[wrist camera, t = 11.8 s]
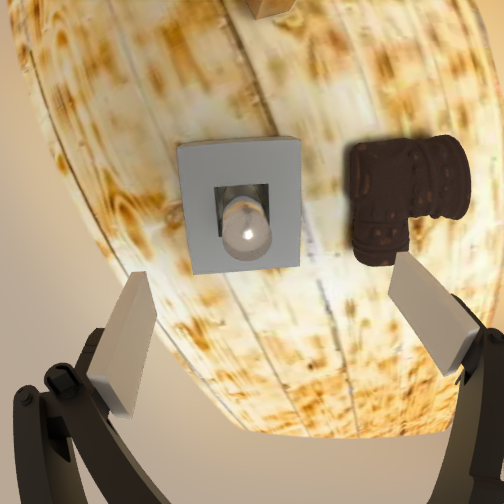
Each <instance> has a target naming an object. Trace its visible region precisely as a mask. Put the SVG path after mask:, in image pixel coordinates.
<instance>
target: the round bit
mask: <svg viewBox="0 0 504 504" xmlns="http://www.w3.org/2000/svg"><path fill="white" fill-rule="evenodd" d="M222 242H223V246H224V248H225V250H226V252H227V253H228V254H229V255H230V256H231V257H233V258H235V259H237V260H240V261H253V260H256V259H259V258H260V257H262V256H263V255H265V254H266V253H267V251H268V250H269V248H270V246H271V244H272V232H271V229H270V226H269V223H268V221H267V218H266V215H265V213H264V210H263V207H262V204H261V202H260V199H259V196H258V194H257V191H256V189H255V188H254V186H253V185H236V186H228V187H227V188H226V190H225V192H224V198H223V228H222Z"/></svg>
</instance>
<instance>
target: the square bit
mask: <svg viewBox="0 0 504 504" xmlns="http://www.w3.org/2000/svg"><path fill="white" fill-rule="evenodd" d="M246 2H247V4H248V6H249V8H250V9H251V11H252V13H253V15H254V17H255V19H256V20H257V19H261V18H264V17H268V16H271V15H275V14H279V13H283V12H287V11H289V9H290V8H291V6H292V5H293V3H294V2H295V0H246Z"/></svg>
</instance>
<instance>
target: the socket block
mask: <svg viewBox="0 0 504 504" xmlns="http://www.w3.org/2000/svg"><path fill="white" fill-rule="evenodd" d="M176 150H177V160H178V169H179V178H180V186H181V194H182V202H183V210H184V217H185V224H186V231H187V238H188V245H189V251H190V257H191V264H192V270H193V275H198V274H212V273H225V272H238V271H250V270H262V269H274V268H285V267H297V266H300V233H301V140H299V139H297V138H294V137H291V136H277V137H252V138H235V139H222V140H210V141H200V142H191V143H183V144H182V145H180V146H179V147H177V148H176ZM251 184H263V193H264V213H265V215H266V218H267V221H268V223H269V226H270V229H271V232H272V244H271V246H270V248H269V250H268V251H267V253H266V254H265V255H263V256H262V257H260V258H259V259H256V260H253V261H240V260H237V259H235V258H233V257H231V256H230V255H229V254H228V253H227V252H226V250H225V248H224V246H223V242H222V228H223V220H222V221H220V219H219V208H218V197H217V187H223V186H236V185H251Z"/></svg>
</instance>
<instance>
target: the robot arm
mask: <svg viewBox="0 0 504 504" xmlns="http://www.w3.org/2000/svg"><path fill="white" fill-rule="evenodd" d="M388 295H389V297H390V298H391V299H392V301H393V302H394V303H395V305H396V306H397V308H398V309H399V310H400V312H401V313H402V315H403V316H404V317H405V319H406V320H407V322H408V323H409V325H410V326H411V327H412V329H413V330H414V332H415V333H416V335H417V336H418V338H419V339H420V341H421V342H422V344H423V345H424V347H425V348H426V350H427V351H428V353H429V354H430V356H431V357H432V359H433V360H434V362H435V363H436V365H437V367H438V368H439V370H440V371H441V373H442V375H443V376H444V377H445V376H448V375H450V374H453V373H455V372H456V371H457V369H458V368H459V366H460V364H462V365H463V366H464V369H463V371H462V372H461V374H460V376H459V377H458V379H457V380H456V382H455V385H457V383H458V382H459V381H460V385H459V386H460V387H459V394H458V400H457V405H456V411H455V416H454V421H453V425H452V430H451V434H450V438H449V442H448V446H447V449H446V453H445V456H444V460H443V463H442V467H441V470H440V473H439V476H438V479H437V482H436V484H435V487H434V490H433V493H432V495H431V498H430V499H429V501H428V502H427V504H504V481H501V479H500V474H501V469H502V463H503V457H504V334H503V333H502V332H500V331H499V330H497V329H495V328H486V327H485V326H484V325H483V324H482V322H481V321H480V320H479V319H478V318H477V317H476V316H475V314H474V313H473V312H472V311H471V310H470V309H469V308H468V307H467V306H466V304H465V303H464V302H463V301H462V300H461V299H460V298H458V297H457V296H455V295H454V294H450V293H449V292H448V291H447V290H446V289H445V288H444V287H443V286H442V285H441V284H440V282H439V281H438V280H437V279H436V278H435V277H434V276H433V275H432V274H431V273H430V272H429V271H428V270H427V269H426V268H425V267H424V266H423V265H422V264H421V263H420V262H419V261H418V260H416V259H415V258H414V257H413V256H412V255H411V254H410V253H409V252H408V251H407V252H397V255H396V260H395V264H394V269H393V274H392V278H391V282H390V287H389V291H388ZM156 317H157V312H156V309H155V305H154V302H153V298H152V294H151V290H150V287H149V283H148V279H147V275H146V271H144V272H132V273H131V275H130V277H129V279H128V281H127V283H126V285H125V287H124V289H123V291H122V293H121V295H120V297H119V299H118V301H117V303H116V306H115V308H114V310H113V312H112V314H111V316H110V319H109V321H108V323H107V325H106V328H96V329H95V330H94V331H93V332H92V333H91V334H90V335H89V337H88V339H87V341H86V343H85V346H84V348H83V350H82V353H81V354H80V356H79V359H78V361H77V363H76V366H75V368H73V367H72V366H71V365H70V364H68V363H58V364H55V365H53V366H52V367H51V368H49V369H48V371H47V372H46V374H45V376H44V384H45V385H46V386H47V388H48V389H49V390H50V391H49V392H43V393H39V391H38V390H37V389H36V388H35V387H34V386H32V385H26V386H24V387H21V388H20V389H19V390H18V391H17V392H16V394H15V396H14V401H13V435H14V453H15V464H16V473H17V481H18V488H19V494H20V499H21V504H88V502H87V499H86V496H85V493H84V489H83V486H82V482H81V478H80V475H79V471H78V467H77V463H76V458H75V454H74V449H73V444H72V439H73V441H74V444H75V446H76V448H77V449H78V452H79V454H80V455H81V458H82V459H83V461H84V463H85V465H86V467H87V469H88V471H89V472H90V474H91V476H92V478H93V479H94V481H95V483H96V484H97V486H98V488H99V489H100V491H101V493H102V494H103V496H104V497H105V499H106V500H107V502H108V504H171V503H170V502H169V501H168V499H167V498H166V497H165V496H164V495H163V494H162V493H161V491H160V490H159V489H158V488H157V487H156V485H155V484H154V483H153V482H152V480H151V479H150V478H149V476H148V475H147V474H146V473H145V471H144V470H143V469H142V468H141V466H140V465H139V463H138V462H137V461H136V459H135V458H134V456H133V455H132V454H131V452H130V451H129V449H128V448H127V446H126V445H125V443H124V442H123V441H122V439H121V437H120V436H119V434H118V433H117V431H116V430H115V428H114V427H113V425H112V423H111V422H110V420H109V419H108V414H109V411H111V412H112V414H113V415H114V416H115V417H117V418H128V419H132V418H133V413H134V408H135V403H136V399H137V394H138V389H139V385H140V381H141V376H142V372H143V368H144V364H145V359H146V355H147V351H148V348H149V343H150V340H151V336H152V332H153V328H154V325H155V321H156ZM71 437H72V439H71Z"/></svg>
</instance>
